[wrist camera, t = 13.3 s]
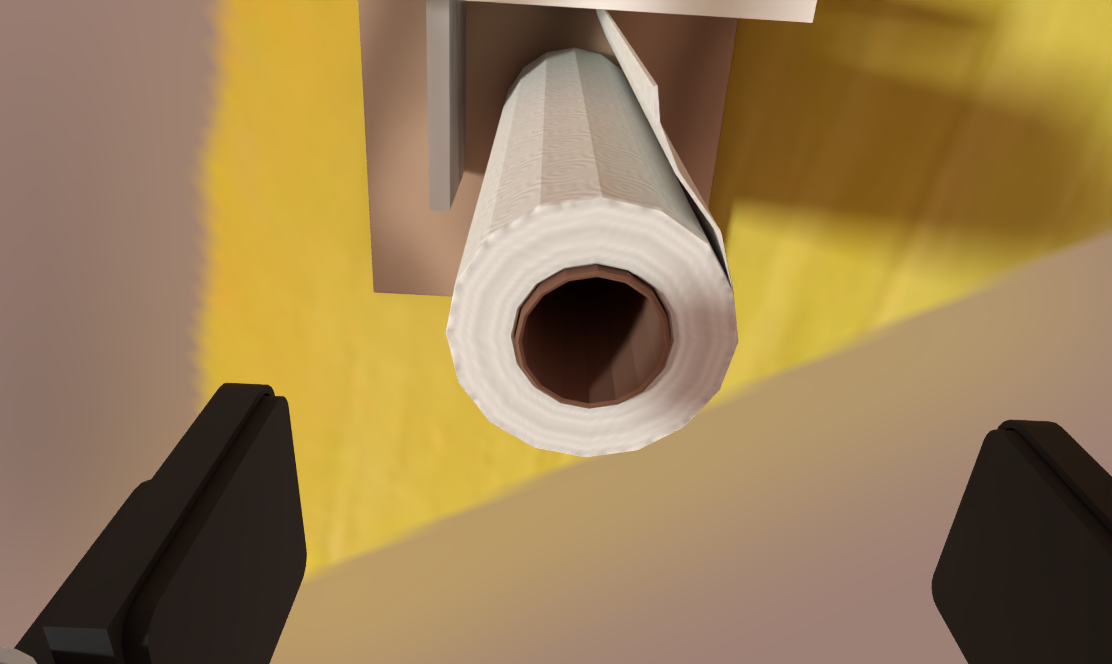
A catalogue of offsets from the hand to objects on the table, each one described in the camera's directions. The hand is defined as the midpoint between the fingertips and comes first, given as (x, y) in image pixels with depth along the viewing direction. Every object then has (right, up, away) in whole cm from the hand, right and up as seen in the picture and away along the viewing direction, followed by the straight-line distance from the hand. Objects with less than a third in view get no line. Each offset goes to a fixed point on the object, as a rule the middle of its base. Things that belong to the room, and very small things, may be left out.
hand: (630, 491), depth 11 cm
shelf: (-2, +12, +26) cm, 29 cm away
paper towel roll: (0, +12, +24) cm, 27 cm away
